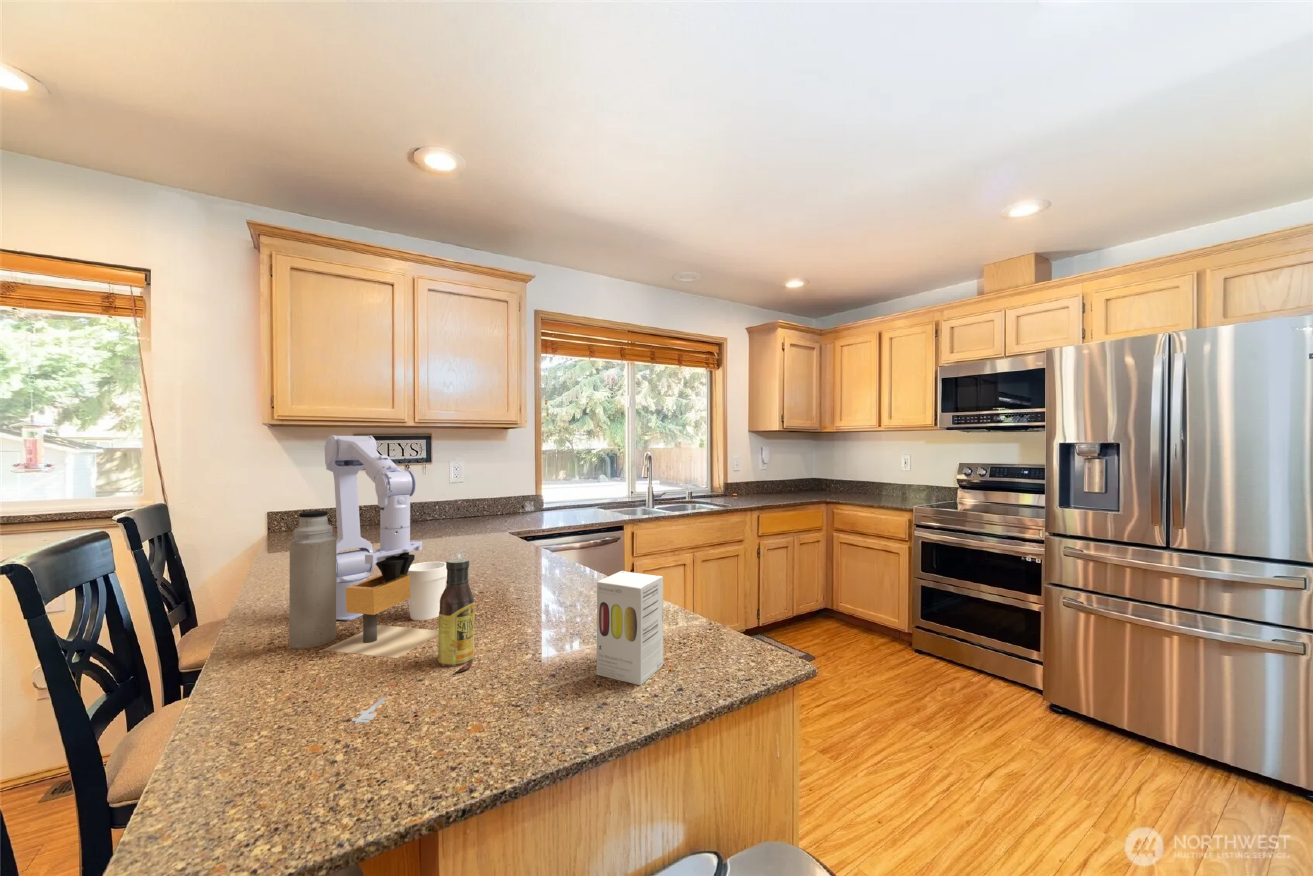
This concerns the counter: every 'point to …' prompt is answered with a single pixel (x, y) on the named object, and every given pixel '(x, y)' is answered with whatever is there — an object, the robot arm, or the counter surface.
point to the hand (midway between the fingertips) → (395, 590)
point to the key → (365, 713)
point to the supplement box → (629, 626)
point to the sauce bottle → (456, 618)
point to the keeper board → (383, 639)
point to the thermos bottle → (312, 582)
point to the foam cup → (426, 589)
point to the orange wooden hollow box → (377, 594)
